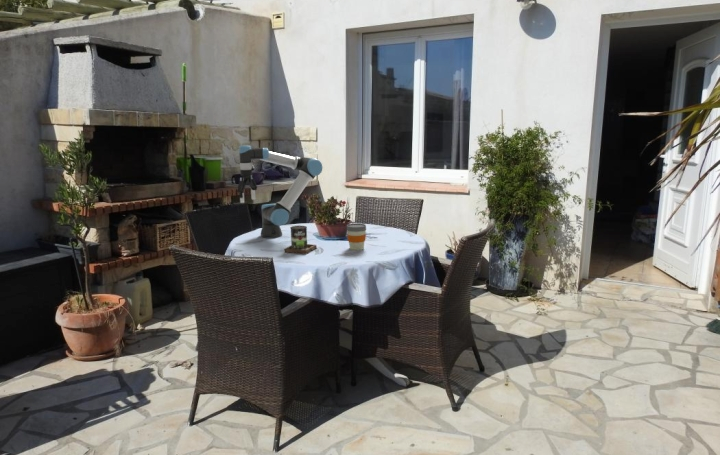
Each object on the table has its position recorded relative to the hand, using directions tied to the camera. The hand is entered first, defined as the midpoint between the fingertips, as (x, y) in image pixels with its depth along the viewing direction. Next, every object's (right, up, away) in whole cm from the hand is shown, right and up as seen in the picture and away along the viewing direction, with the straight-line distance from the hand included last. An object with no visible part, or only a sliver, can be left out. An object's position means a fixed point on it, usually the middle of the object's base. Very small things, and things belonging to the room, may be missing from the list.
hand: (248, 201), depth 350 cm
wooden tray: (+37, -32, -16) cm, 51 cm away
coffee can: (+36, -31, -15) cm, 50 cm away
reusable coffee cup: (+72, -31, -13) cm, 80 cm away
